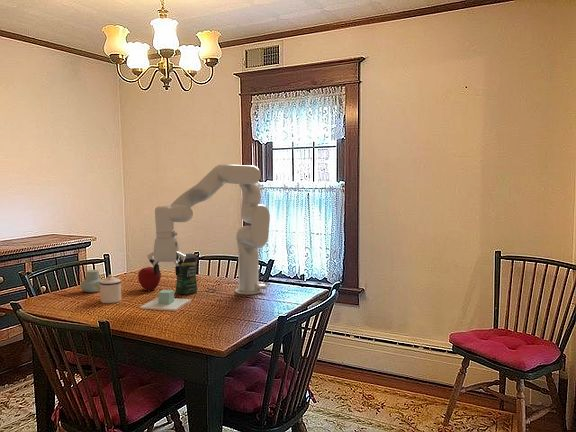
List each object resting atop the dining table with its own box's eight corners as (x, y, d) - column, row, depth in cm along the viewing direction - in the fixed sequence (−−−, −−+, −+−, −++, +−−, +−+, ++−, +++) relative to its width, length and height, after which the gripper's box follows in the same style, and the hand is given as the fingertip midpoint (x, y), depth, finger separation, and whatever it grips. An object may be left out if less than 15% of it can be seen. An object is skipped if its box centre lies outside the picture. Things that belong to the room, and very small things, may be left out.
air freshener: (89, 294, 233) (88, 273, 232) (77, 292, 237) (76, 271, 236) (108, 290, 242) (107, 269, 241) (96, 288, 246) (95, 267, 245)
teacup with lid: (126, 300, 223) (125, 274, 222) (109, 304, 215) (109, 278, 214) (107, 296, 229) (107, 271, 228) (91, 301, 221) (90, 275, 220)
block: (174, 301, 217) (174, 290, 217) (169, 304, 213) (169, 292, 212) (163, 300, 218) (163, 289, 218) (158, 303, 214) (158, 292, 213)
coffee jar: (183, 296, 231) (182, 256, 229) (173, 293, 236) (172, 254, 235) (200, 292, 238) (199, 253, 236) (190, 289, 243) (189, 251, 242)
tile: (191, 301, 222) (191, 299, 222) (175, 310, 206) (175, 308, 206) (157, 299, 225) (157, 297, 225) (140, 308, 209) (140, 306, 209)
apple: (164, 290, 242) (164, 266, 240) (142, 293, 236) (142, 268, 234) (156, 286, 251) (156, 262, 250) (135, 288, 245) (134, 265, 244)
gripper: (187, 233, 215) (189, 273, 217) (150, 233, 218) (153, 272, 220) (180, 236, 208) (182, 277, 209) (142, 236, 211) (144, 276, 213)
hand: (167, 274), depth 215 cm, fingers open, 9 cm apart
